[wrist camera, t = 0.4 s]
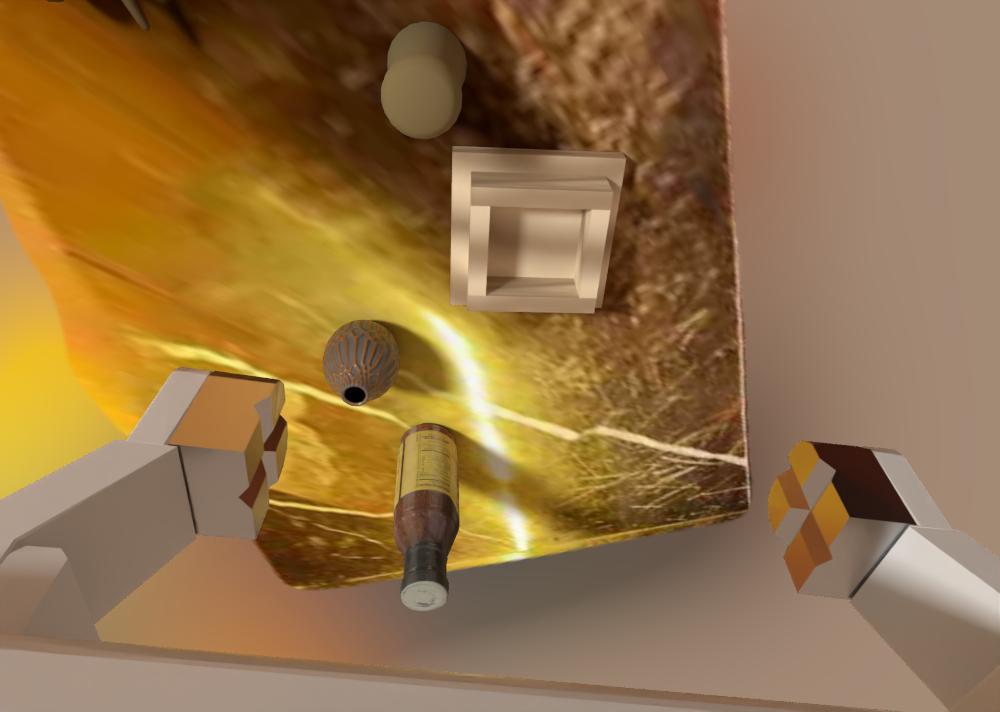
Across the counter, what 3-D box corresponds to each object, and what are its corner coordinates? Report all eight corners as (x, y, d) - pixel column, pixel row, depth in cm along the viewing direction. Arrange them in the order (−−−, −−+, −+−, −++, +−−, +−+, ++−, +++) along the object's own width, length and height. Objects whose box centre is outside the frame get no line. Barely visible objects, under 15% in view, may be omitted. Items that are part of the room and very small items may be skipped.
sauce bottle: (433, 470, 75) (426, 632, 59) (387, 444, 72) (367, 605, 56) (471, 437, 72) (475, 596, 56) (425, 408, 70) (416, 566, 53)
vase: (398, 307, 63) (390, 361, 55) (405, 366, 66) (399, 424, 59) (324, 310, 62) (307, 364, 55) (336, 369, 66) (321, 428, 59)
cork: (478, 90, 52) (483, 132, 43) (407, 118, 53) (396, 165, 44) (449, 8, 48) (447, 35, 39) (373, 40, 49) (354, 73, 40)
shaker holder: (452, 145, 54) (452, 166, 50) (622, 152, 55) (635, 173, 51) (450, 296, 62) (449, 325, 58) (598, 299, 63) (608, 328, 59)
